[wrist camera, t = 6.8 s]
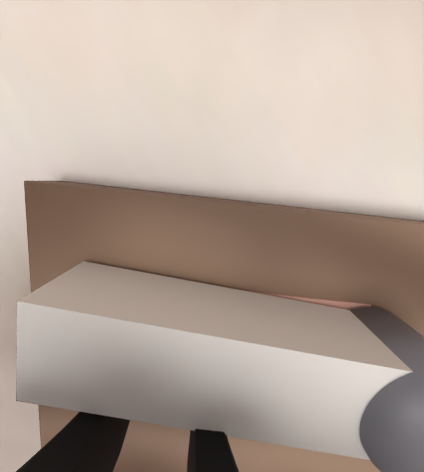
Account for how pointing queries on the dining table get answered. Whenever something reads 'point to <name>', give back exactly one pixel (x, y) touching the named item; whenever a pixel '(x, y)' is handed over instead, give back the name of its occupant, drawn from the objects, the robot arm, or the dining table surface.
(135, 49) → the dining table surface
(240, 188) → the dining table surface
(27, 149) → the dining table surface
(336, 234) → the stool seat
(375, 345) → the white bar with cylinder
